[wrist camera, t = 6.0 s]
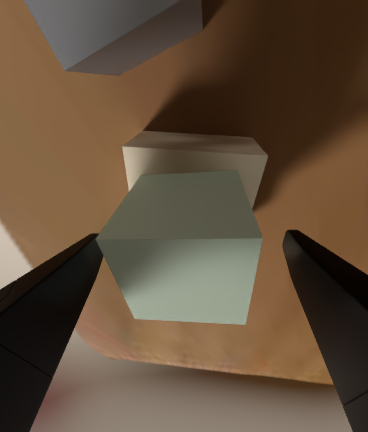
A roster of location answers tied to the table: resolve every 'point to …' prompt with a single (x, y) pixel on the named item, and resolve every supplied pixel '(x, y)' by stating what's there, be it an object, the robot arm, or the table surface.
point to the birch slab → (195, 156)
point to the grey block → (114, 30)
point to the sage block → (185, 247)
